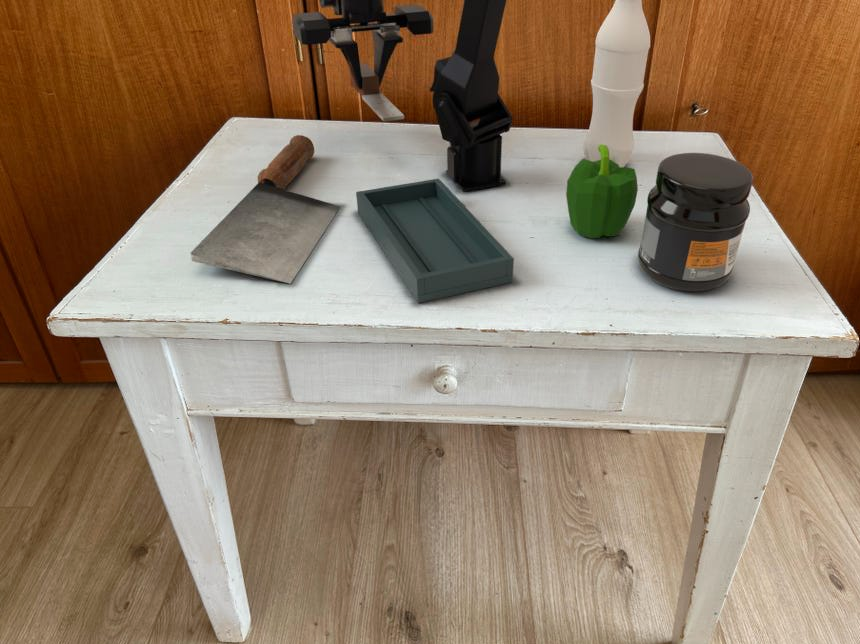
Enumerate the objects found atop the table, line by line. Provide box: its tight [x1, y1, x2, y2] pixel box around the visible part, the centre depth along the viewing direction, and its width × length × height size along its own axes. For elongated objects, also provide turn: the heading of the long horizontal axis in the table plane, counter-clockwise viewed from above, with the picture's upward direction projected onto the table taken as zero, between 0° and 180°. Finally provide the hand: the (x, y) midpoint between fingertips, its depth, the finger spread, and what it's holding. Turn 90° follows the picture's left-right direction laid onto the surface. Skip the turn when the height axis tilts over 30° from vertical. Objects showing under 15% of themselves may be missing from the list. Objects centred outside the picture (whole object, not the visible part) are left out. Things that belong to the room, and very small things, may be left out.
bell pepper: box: [565, 145, 639, 239], centre depth 84 cm, size 8×8×10 cm
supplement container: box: [637, 152, 754, 292], centre depth 76 cm, size 10×10×12 cm
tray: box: [355, 177, 515, 304], centre depth 82 cm, size 11×22×3 cm, turn 24°
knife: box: [348, 62, 405, 122], centre depth 101 cm, size 3×17×3 cm, turn 24°
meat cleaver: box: [190, 134, 341, 285], centre depth 88 cm, size 34×11×4 cm, turn 173°
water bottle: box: [583, 0, 651, 167], centre depth 95 cm, size 7×7×25 cm
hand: (368, 87), depth 103 cm, fingers closed on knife, 2 cm apart
